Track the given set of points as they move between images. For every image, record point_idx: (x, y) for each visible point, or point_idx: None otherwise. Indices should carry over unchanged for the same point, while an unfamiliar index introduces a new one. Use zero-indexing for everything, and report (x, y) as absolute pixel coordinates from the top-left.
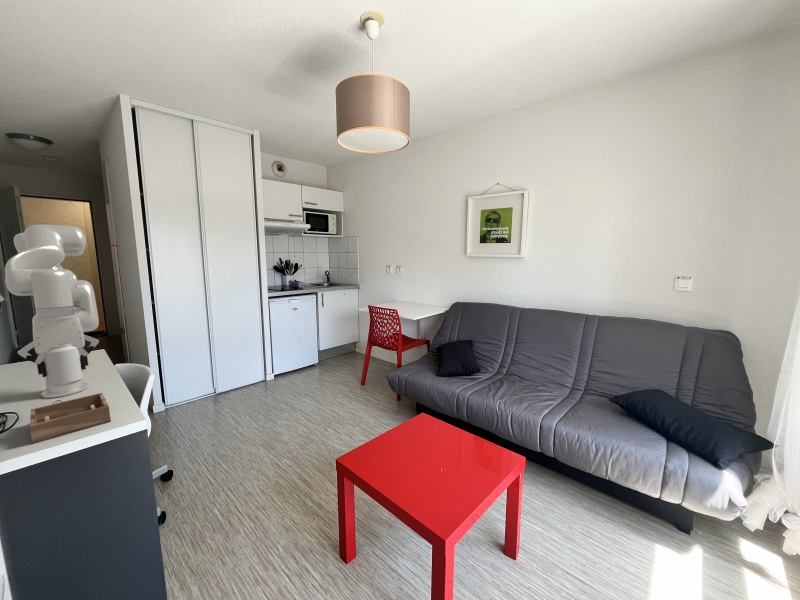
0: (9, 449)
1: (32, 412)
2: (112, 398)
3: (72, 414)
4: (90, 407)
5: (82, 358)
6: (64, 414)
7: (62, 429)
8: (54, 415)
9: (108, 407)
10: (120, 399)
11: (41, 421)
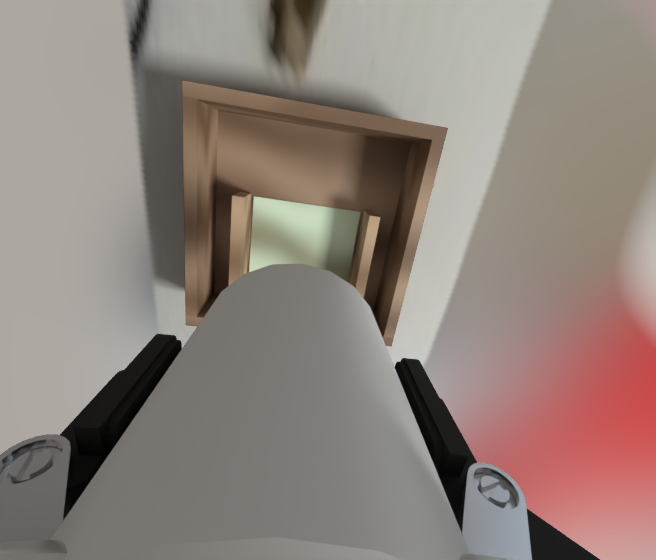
0: (159, 282)
1: (189, 149)
2: (486, 33)
3: (321, 137)
4: (380, 137)
5: None
6: (299, 123)
7: None
8: (268, 117)
9: (389, 342)
10: (493, 93)
11: (230, 112)
